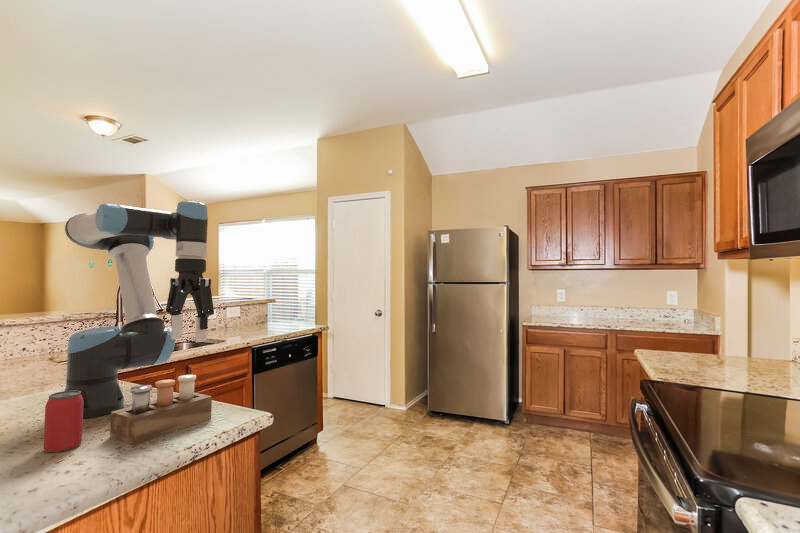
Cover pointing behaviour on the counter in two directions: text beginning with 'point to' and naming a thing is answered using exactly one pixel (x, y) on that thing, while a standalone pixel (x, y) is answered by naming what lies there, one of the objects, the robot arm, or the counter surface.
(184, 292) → the robot arm
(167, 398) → the peach round knob
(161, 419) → the button block
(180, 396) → the plunger white
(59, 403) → the beer can
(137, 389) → the plunger grey
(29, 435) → the counter surface
